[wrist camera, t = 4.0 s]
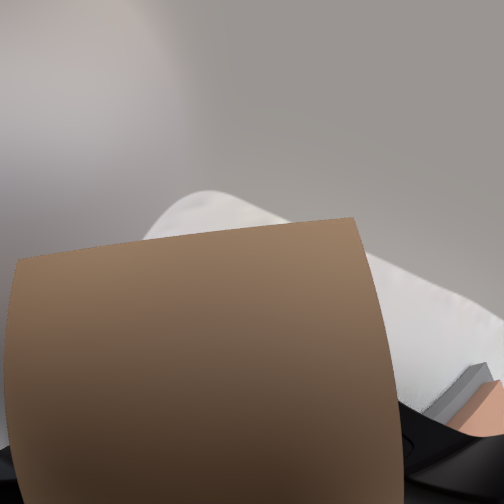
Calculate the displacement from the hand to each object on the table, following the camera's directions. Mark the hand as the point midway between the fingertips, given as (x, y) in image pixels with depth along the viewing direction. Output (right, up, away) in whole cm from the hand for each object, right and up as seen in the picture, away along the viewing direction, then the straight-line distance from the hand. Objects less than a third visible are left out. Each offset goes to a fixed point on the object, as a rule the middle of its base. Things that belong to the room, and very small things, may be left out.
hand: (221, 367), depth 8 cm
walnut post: (0, -4, +6) cm, 7 cm away
